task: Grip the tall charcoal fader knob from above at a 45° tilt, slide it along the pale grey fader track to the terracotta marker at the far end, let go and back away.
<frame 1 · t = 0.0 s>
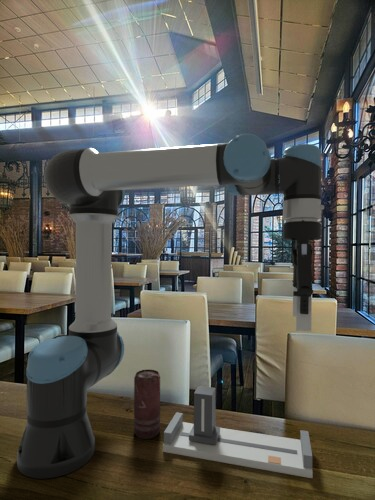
hand: (301, 323, 69), 28 cm above the table, tool pointing down, fingers open, 13 cm apart
can: (147, 433, 78), on the table
fader base: (236, 449, 71), on the table
fader knob: (204, 413, 73), point 7 cm above the table, slide at -7.0 cm
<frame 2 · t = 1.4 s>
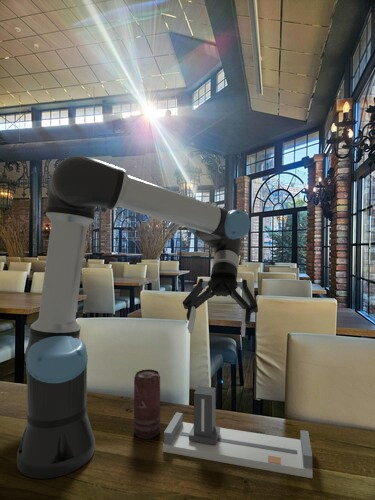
hand: (215, 332, 83), 22 cm above the table, tool tilted 45°, fingers open, 13 cm apart
nothing on the table moved.
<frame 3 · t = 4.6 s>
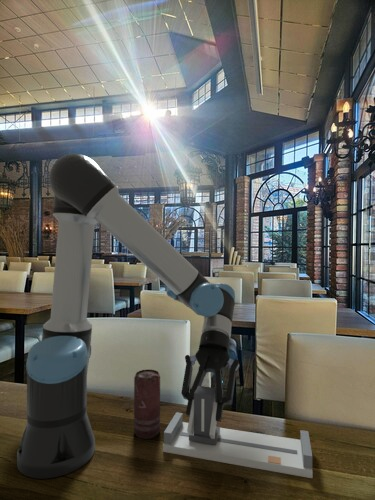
hand: (200, 434, 69), 4 cm above the table, tool tilted 45°, fingers closed on fader knob, 4 cm apart
fader knob: (204, 413, 73), point 7 cm above the table, slide at -7.0 cm, touching gripper
everything else where it was.
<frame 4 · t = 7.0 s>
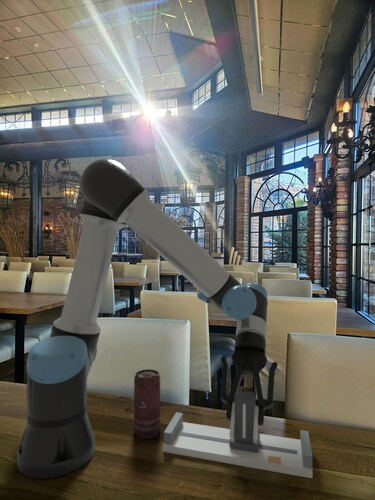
hand: (243, 439, 67), 4 cm above the table, tool tilted 45°, fingers closed on fader knob, 4 cm apart
fader knob: (245, 419, 71), point 7 cm above the table, slide at 1.8 cm, touching gripper
everything else where it was.
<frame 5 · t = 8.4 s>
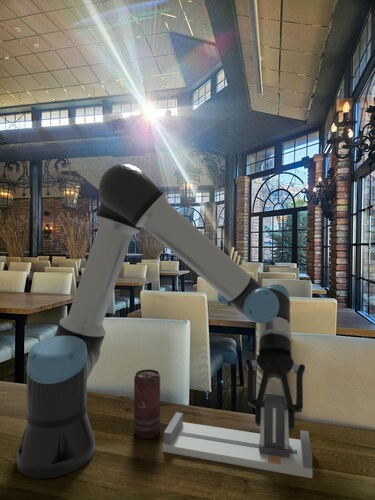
hand: (274, 444, 66), 4 cm above the table, tool tilted 45°, fingers closed on fader knob, 4 cm apart
fader knob: (274, 423, 69), point 7 cm above the table, slide at 7.9 cm, touching gripper
everything else where it was.
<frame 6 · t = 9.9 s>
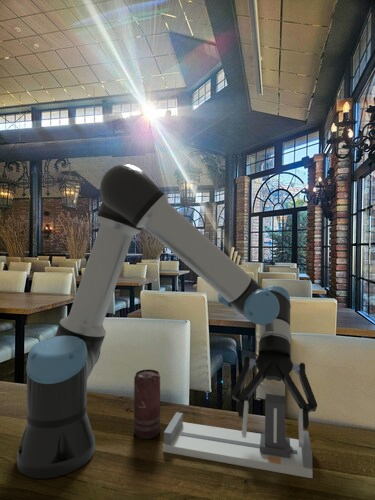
hand: (271, 440, 66), 5 cm above the table, tool tilted 45°, fingers open, 10 cm apart
fader knob: (275, 423, 69), point 7 cm above the table, slide at 8.1 cm
everything else where it was.
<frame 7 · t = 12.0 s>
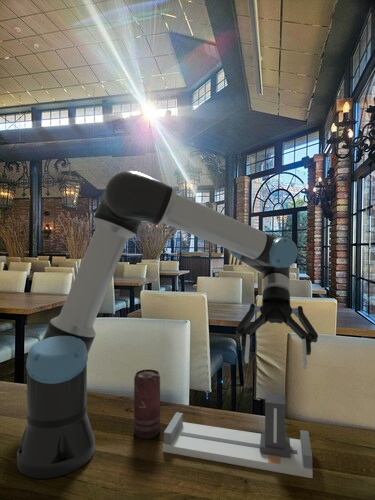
hand: (275, 363, 79), 16 cm above the table, tool tilted 45°, fingers open, 13 cm apart
nothing on the table moved.
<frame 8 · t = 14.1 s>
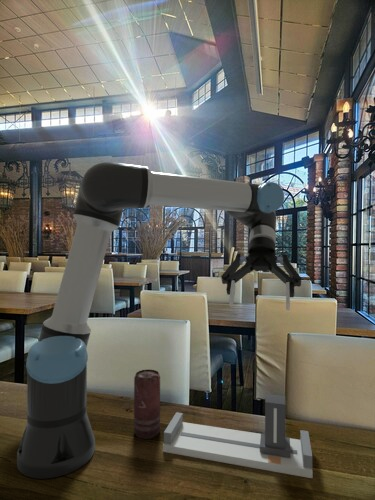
hand: (258, 305, 80), 30 cm above the table, tool tilted 45°, fingers open, 13 cm apart
nothing on the table moved.
at the end: fader knob slide at 8.1 cm; the gripper is holding nothing; can moved 0.2 cm from its start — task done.
